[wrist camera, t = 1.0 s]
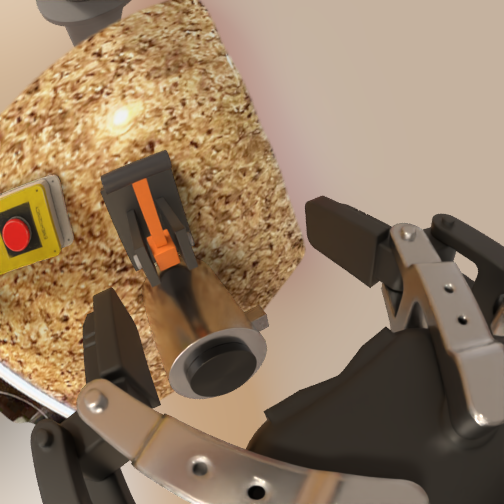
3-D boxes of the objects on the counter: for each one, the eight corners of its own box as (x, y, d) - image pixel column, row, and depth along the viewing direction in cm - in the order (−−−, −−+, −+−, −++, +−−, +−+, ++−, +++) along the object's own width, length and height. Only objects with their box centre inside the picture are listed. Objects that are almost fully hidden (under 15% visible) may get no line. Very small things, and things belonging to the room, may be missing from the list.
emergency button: (72, 257, 26) (-18, 287, 20) (75, 241, 29) (-9, 270, 23) (51, 179, 21) (-45, 220, 15) (58, 172, 25) (-31, 208, 19)
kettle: (128, 276, 35) (152, 371, 22) (216, 237, 40) (282, 307, 26) (164, 338, 43) (200, 421, 30) (236, 304, 48) (291, 374, 34)
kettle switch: (99, 168, 16) (102, 188, 15) (162, 143, 18) (171, 159, 17) (141, 258, 26) (148, 277, 25) (184, 239, 28) (193, 257, 27)
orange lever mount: (100, 188, 28) (96, 222, 19) (167, 161, 31) (194, 180, 22) (134, 267, 35) (149, 322, 26) (192, 241, 38) (225, 286, 29)
